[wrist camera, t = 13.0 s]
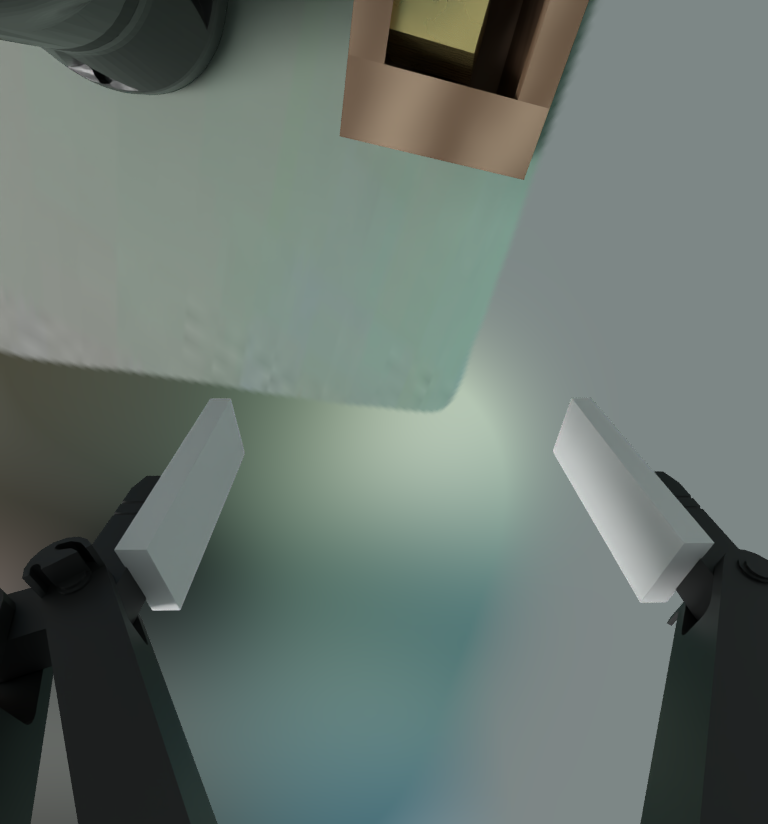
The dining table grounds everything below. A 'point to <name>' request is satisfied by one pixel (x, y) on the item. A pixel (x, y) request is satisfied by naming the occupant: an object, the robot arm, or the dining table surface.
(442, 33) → the rectangular block
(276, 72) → the dining table surface
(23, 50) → the dining table surface
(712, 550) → the robot arm
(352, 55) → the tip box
